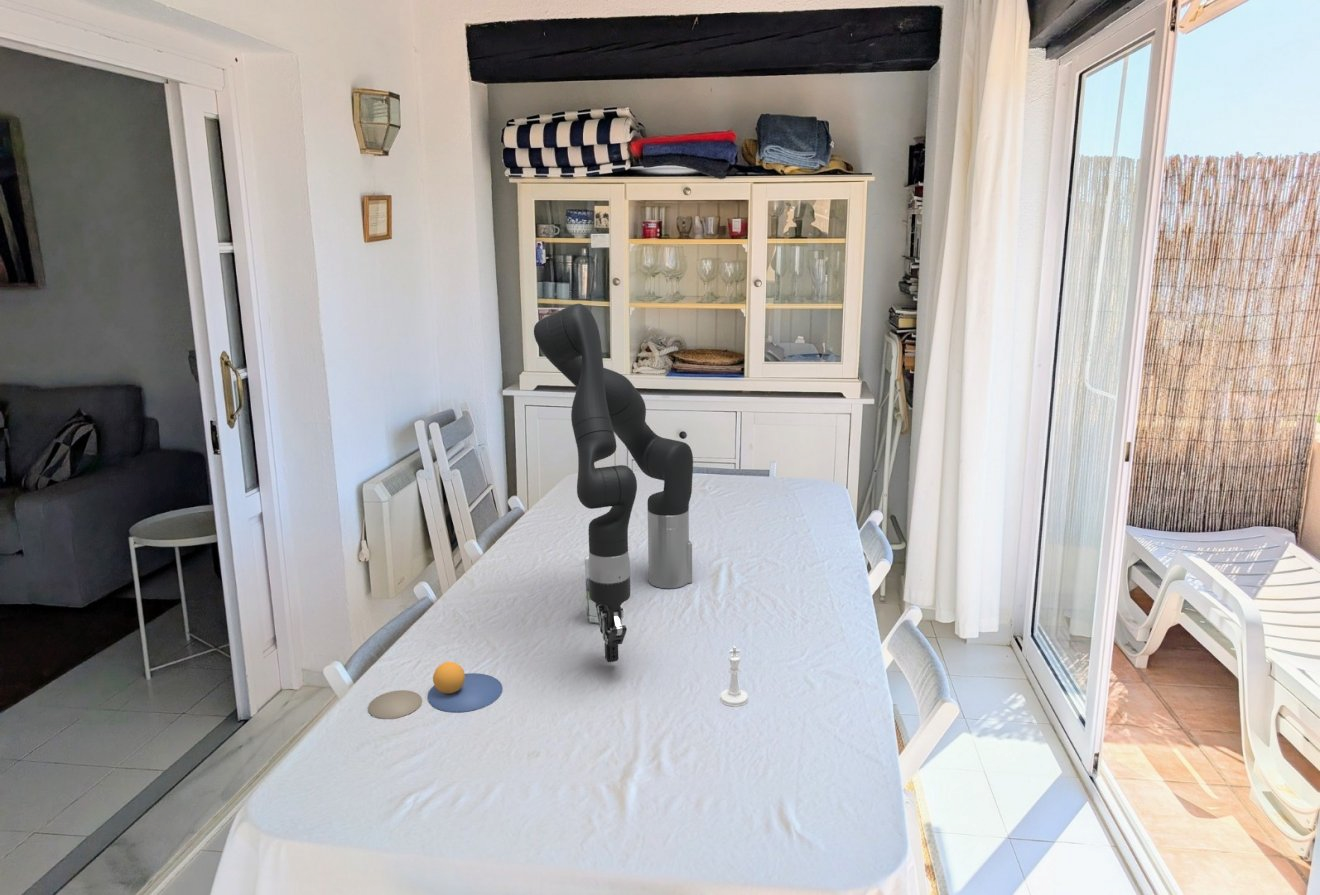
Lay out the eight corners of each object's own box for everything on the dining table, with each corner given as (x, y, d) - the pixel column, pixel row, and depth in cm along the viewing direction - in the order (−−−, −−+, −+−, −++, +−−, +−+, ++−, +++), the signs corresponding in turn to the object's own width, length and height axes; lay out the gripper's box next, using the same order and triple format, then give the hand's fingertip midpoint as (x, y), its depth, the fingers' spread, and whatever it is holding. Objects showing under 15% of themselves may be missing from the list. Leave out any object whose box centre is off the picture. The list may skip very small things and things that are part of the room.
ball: (444, 689, 165) (470, 672, 166) (444, 705, 160) (471, 687, 160) (426, 667, 163) (453, 650, 164) (426, 683, 158) (453, 665, 158)
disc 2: (496, 669, 170) (496, 668, 170) (507, 704, 158) (507, 703, 158) (424, 681, 166) (424, 680, 166) (431, 718, 154) (430, 717, 154)
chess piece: (717, 692, 161) (718, 641, 159) (745, 691, 162) (746, 639, 159) (722, 707, 157) (722, 654, 154) (750, 705, 157) (751, 653, 154)
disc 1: (419, 687, 164) (419, 686, 164) (423, 713, 156) (423, 712, 156) (367, 696, 161) (367, 695, 161) (368, 723, 153) (368, 722, 153)
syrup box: (622, 615, 192) (620, 550, 188) (611, 627, 186) (610, 560, 183) (597, 611, 194) (595, 547, 190) (586, 623, 188) (583, 557, 184)
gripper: (640, 584, 161) (641, 673, 165) (619, 557, 173) (621, 641, 177) (598, 590, 158) (601, 680, 163) (580, 563, 170) (583, 647, 175)
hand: (611, 659), depth 170 cm, fingers closed
